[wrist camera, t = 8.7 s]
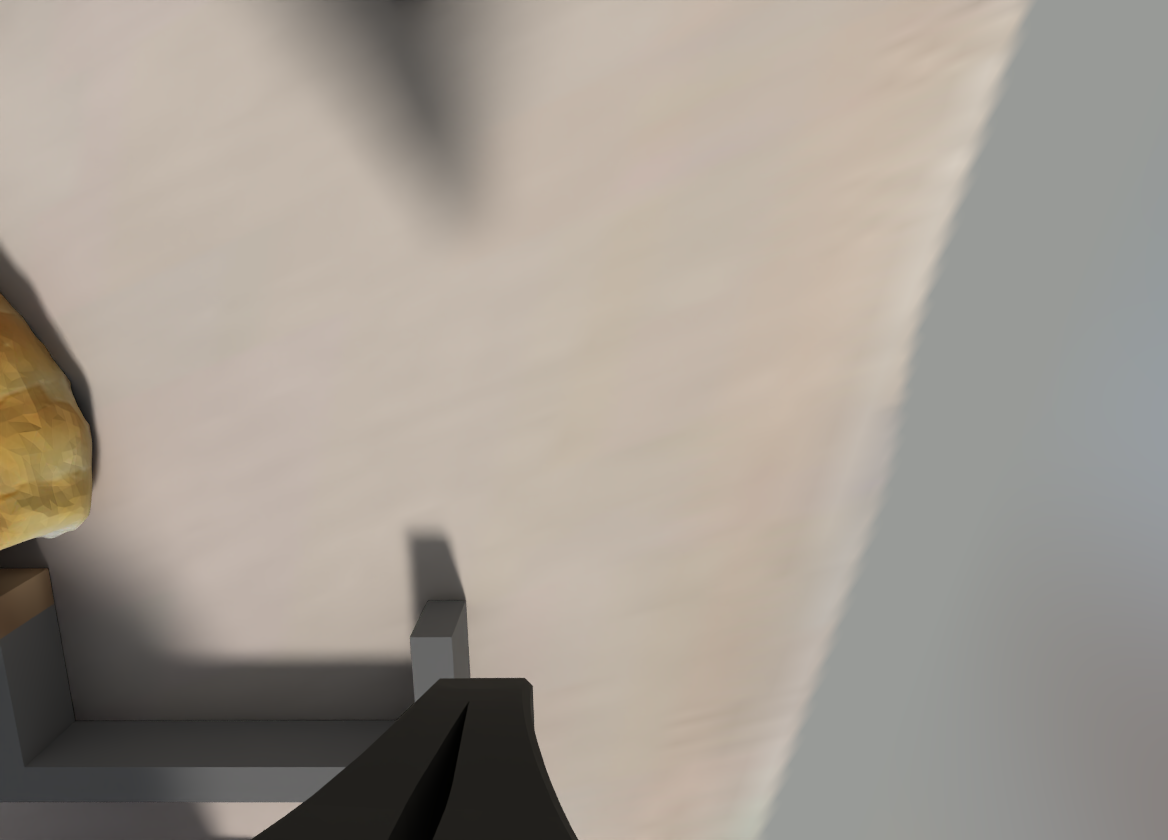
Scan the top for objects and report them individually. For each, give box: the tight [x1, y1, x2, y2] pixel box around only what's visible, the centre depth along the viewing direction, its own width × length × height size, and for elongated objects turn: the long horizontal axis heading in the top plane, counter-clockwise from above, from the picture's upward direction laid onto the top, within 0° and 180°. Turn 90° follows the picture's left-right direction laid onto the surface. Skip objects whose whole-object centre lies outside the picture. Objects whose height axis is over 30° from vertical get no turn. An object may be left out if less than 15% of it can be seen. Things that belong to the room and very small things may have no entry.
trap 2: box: [0, 601, 470, 802], centre depth 21 cm, size 4×12×2 cm, turn 91°
